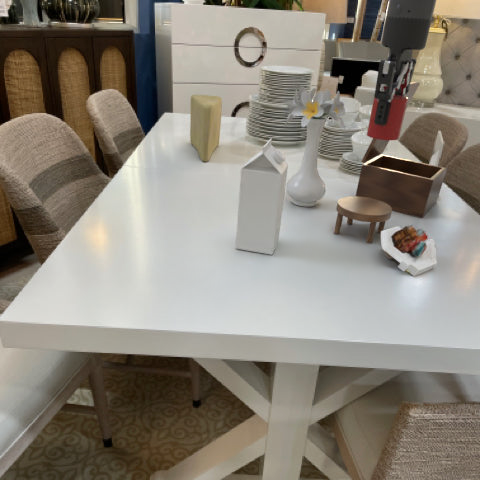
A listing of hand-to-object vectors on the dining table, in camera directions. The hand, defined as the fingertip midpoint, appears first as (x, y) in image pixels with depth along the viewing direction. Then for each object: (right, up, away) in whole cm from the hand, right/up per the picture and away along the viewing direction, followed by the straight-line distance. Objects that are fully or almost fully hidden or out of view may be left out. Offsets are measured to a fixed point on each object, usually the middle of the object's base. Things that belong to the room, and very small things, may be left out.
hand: (386, 121), depth 88 cm
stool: (-2, -19, +12) cm, 22 cm away
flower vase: (-12, -9, +26) cm, 30 cm away
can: (0, -2, +1) cm, 3 cm away
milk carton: (-24, -23, +3) cm, 33 cm away
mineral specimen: (+4, -26, +2) cm, 26 cm away
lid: (+8, +9, +23) cm, 26 cm away
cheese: (-38, +15, +58) cm, 71 cm away
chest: (+12, -7, +30) cm, 33 cm away
